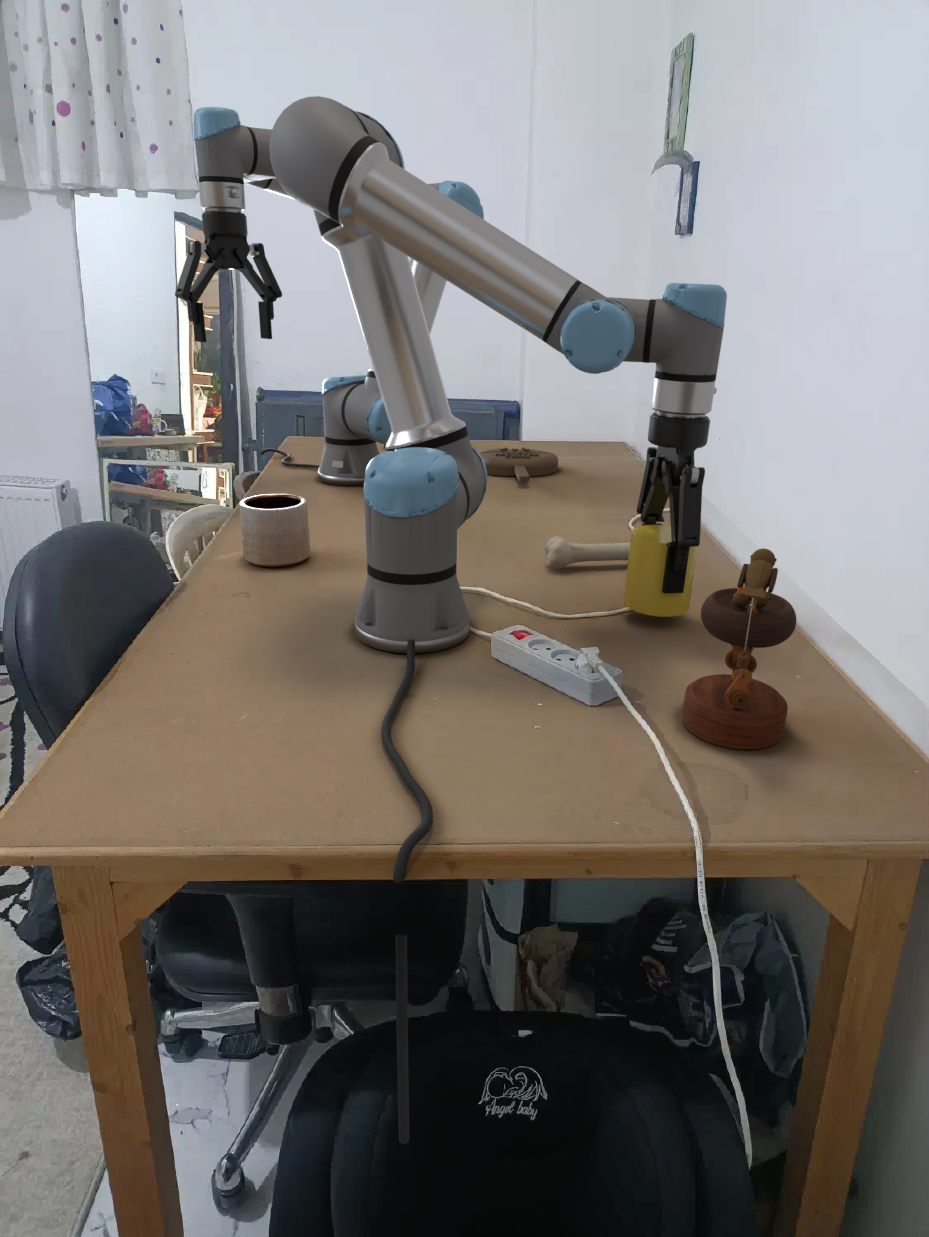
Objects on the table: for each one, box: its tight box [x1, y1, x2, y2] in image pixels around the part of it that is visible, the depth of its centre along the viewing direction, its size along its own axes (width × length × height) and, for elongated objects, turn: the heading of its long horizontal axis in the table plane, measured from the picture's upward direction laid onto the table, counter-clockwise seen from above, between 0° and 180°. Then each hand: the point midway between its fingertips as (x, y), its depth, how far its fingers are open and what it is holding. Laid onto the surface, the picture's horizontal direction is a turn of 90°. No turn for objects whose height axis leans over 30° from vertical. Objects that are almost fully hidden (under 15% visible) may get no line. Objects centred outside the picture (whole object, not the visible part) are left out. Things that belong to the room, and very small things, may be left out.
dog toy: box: [544, 535, 630, 570], centre depth 138 cm, size 20×6×5 cm, turn 99°
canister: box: [623, 524, 699, 618], centre depth 116 cm, size 9×9×10 cm
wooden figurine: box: [681, 548, 797, 750], centre depth 88 cm, size 15×11×20 cm
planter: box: [239, 493, 311, 568], centre depth 139 cm, size 11×11×10 cm
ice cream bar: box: [478, 447, 559, 483], centre depth 201 cm, size 21×28×4 cm
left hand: (234, 340), depth 155 cm, fingers open, 13 cm apart
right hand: (659, 579), depth 116 cm, fingers closed on canister, 9 cm apart
